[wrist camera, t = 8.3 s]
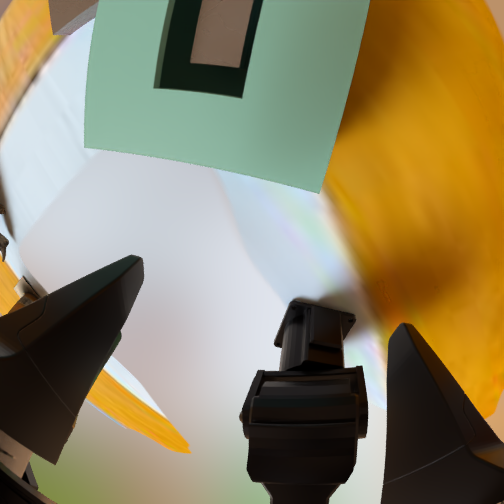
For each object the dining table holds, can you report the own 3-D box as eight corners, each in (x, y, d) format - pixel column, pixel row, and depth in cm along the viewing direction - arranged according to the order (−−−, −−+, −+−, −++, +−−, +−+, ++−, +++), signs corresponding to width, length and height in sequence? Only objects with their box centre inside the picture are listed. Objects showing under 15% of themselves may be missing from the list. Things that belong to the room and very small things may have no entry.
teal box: (313, 153, 18) (319, 193, 12) (148, 121, 18) (84, 147, 12) (357, -28, 10) (382, -76, 4) (180, -47, 10) (128, -84, 4)
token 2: (255, 71, 15) (239, 67, 11) (218, 66, 15) (190, 62, 11) (270, 3, 12) (258, -23, 8) (232, -1, 12) (208, -25, 8)
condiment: (44, 324, 39) (9, 373, 29) (14, 288, 36) (-26, 334, 26) (58, 316, 36) (18, 372, 26) (23, 275, 33) (-23, 328, 23)
